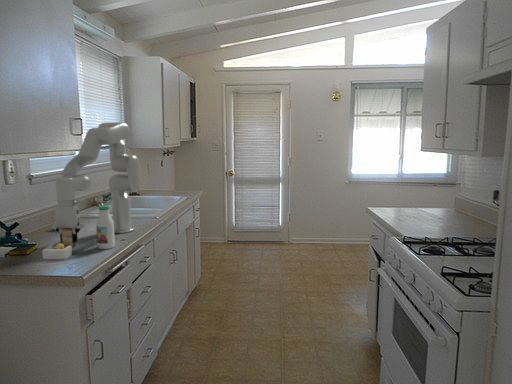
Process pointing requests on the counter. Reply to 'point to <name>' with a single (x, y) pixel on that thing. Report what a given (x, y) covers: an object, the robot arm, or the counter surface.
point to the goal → (57, 253)
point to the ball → (59, 246)
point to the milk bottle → (105, 229)
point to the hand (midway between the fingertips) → (69, 241)
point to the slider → (67, 237)
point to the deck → (81, 247)
